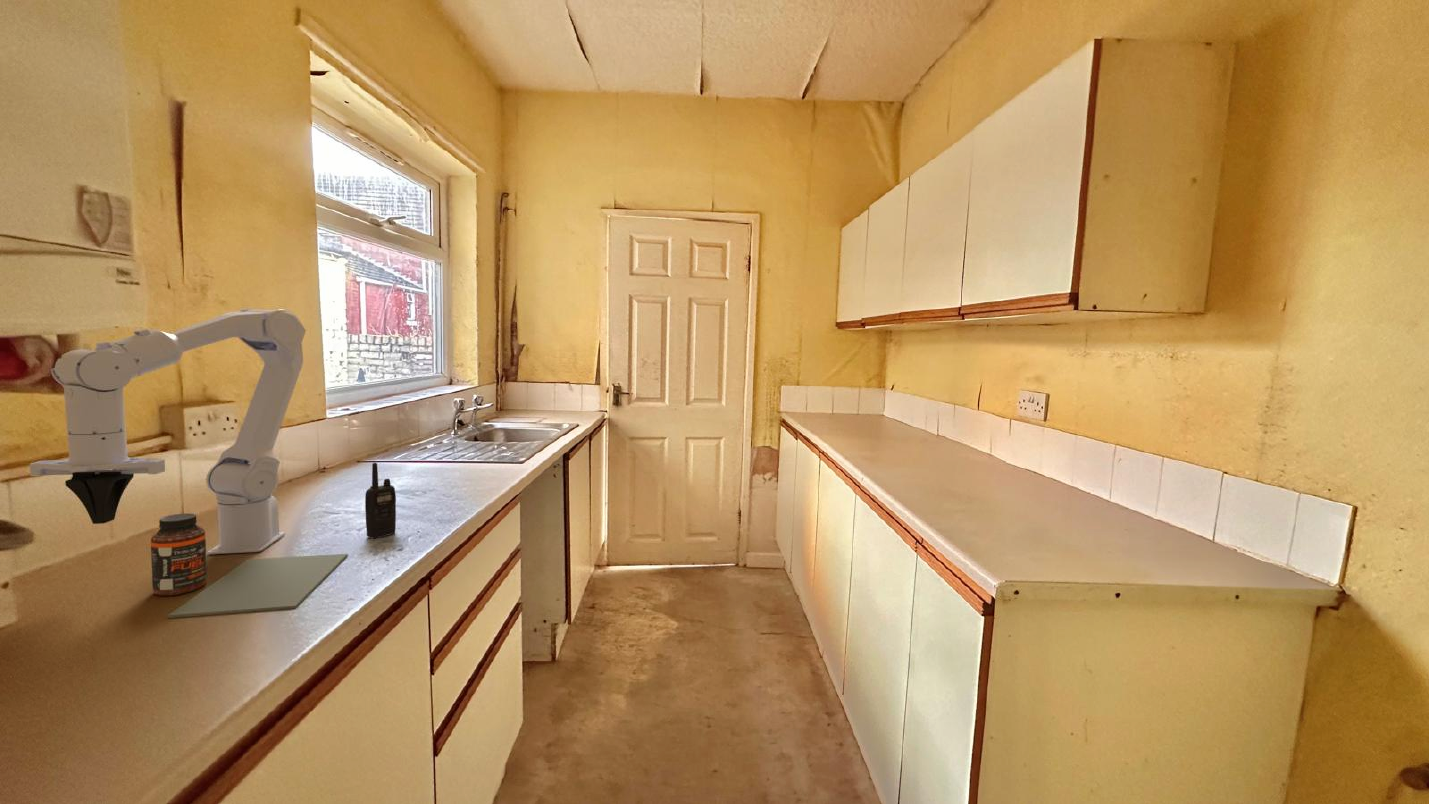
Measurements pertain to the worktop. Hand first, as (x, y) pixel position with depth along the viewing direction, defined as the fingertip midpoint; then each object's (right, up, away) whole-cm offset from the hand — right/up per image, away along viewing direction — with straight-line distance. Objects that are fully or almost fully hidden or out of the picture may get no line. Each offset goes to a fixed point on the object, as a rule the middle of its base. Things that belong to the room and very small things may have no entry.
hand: (103, 521), depth 81 cm
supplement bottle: (+10, -11, +2) cm, 15 cm away
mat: (+21, -11, +5) cm, 24 cm away
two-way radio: (+24, -9, +28) cm, 38 cm away
